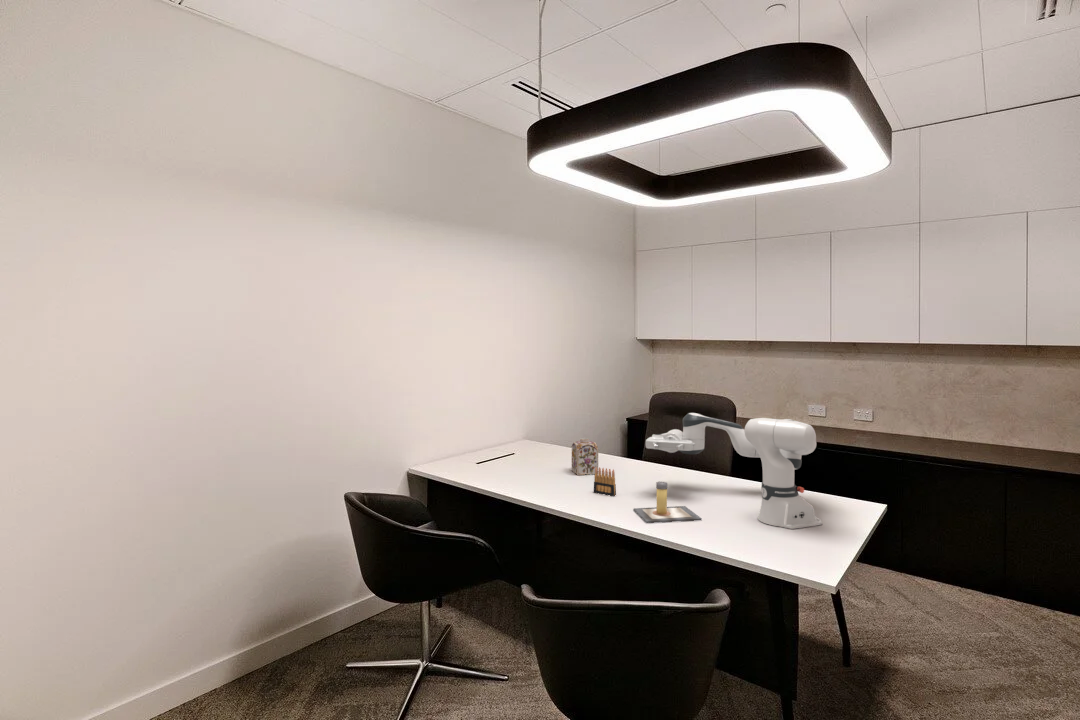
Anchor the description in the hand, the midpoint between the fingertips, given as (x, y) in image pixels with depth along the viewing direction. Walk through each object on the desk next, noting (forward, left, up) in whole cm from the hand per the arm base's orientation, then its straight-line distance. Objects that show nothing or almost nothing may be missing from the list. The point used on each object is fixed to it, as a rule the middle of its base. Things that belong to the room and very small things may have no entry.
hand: (666, 447), depth 235 cm
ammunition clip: (+23, -16, -24) cm, 36 cm away
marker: (+9, +17, -22) cm, 30 cm away
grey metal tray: (+7, +17, -23) cm, 30 cm away
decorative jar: (+23, -57, -24) cm, 65 cm away
